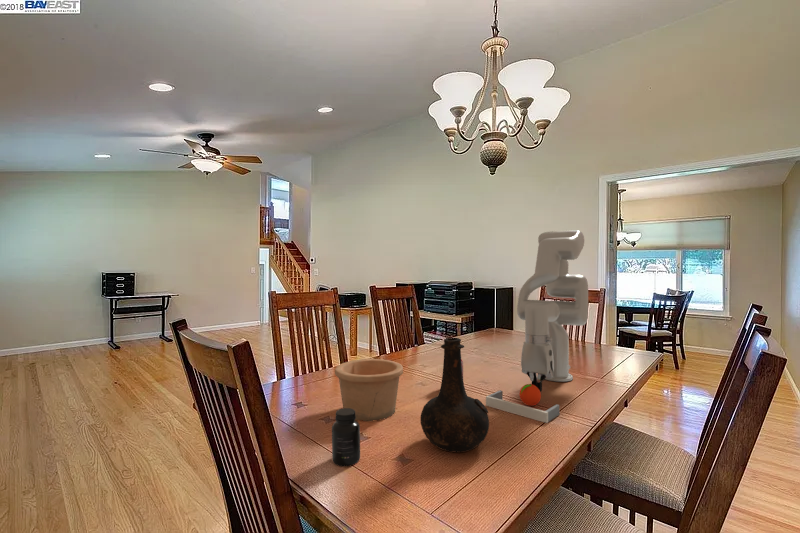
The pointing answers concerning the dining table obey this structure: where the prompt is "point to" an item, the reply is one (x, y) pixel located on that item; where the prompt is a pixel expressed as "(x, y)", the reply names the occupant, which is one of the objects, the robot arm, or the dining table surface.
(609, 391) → the dining table surface
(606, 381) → the dining table surface
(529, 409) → the grey u-shaped bracket
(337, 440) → the supplement bottle
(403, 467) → the dining table surface
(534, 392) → the clementine
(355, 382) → the pottery
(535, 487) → the dining table surface
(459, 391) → the glass bottle
